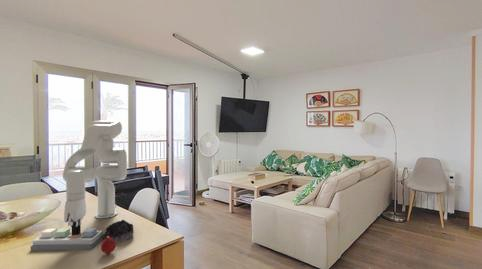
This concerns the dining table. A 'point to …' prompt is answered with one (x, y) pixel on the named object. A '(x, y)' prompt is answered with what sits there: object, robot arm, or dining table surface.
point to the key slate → (89, 232)
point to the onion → (108, 245)
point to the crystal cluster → (119, 231)
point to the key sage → (62, 232)
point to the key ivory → (48, 233)
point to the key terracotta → (76, 235)
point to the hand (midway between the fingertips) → (76, 234)
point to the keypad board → (66, 247)
